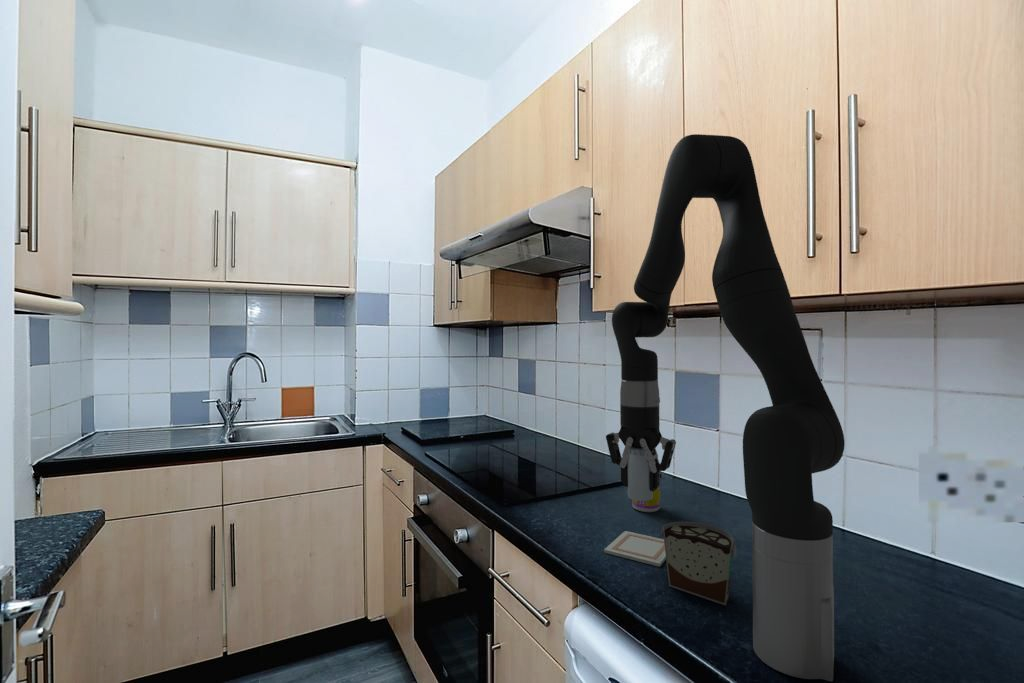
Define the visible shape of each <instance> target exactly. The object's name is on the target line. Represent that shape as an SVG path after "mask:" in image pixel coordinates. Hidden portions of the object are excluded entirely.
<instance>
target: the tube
mask: <svg viewBox="0 0 1024 683" xmlns="http://www.w3.org/2000/svg"><path fill="white" fill-rule="evenodd" d="M646 451H647V450H646ZM651 454H652V452H651ZM650 472H651V469H650V466H649V463H648V462H647V460H646V457H645V450H644V449H642V448H634V447H632V448H629V456H628V487H627V498H629V499H630V500H631V501H632V500H636V501H649V500H652V499H653V491H650Z"/></svg>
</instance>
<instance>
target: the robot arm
mask: <svg viewBox="0 0 1024 683" xmlns="http://www.w3.org/2000/svg"><path fill="white" fill-rule="evenodd" d="M698 198H699V199H712V200H714V202H715V204H716V205H717V208H718V209H717V210H718V212H719V215H720V219H721V223H722V238H721V242H720V245H719V248H718V250H717V254H716V257H715V259H714V264H713V267H712V274H711V282H712V287H713V291H714V296H715V298H716V301H717V305H718V309H719V312H720V315H721V318H722V321H723V323H724V325H725V327H726V328H727V330H728V331H729V332H730V334H731V336H732V337H733V338H734V340H735V341H736V342H737V343H738V344H739V345H740V347H741V348H742V350H743V351H744V352H745V353H746V354H747V355H748V356H749V358H750V359H751V360H752V361H753V363H754V364H755V365H756V366H757V369H758V370H759V372H760V374H761V375H762V378H763V379H764V383H765V385H766V388H767V391H768V393H769V394H768V395H769V396H770V401H771V403H772V405H771V406H765V407H761V408H760V409H757V410H755V411H754V412H753V413H752V414H750V416H749V417H748V419H747V420H746V423H745V425H744V429H743V435H742V458H743V459H742V460H743V474H744V476H743V477H744V478H743V479H744V489H745V490H744V491H745V496H746V499H747V503H748V505H749V508H750V509H751V523H752V524H751V525H752V526H751V530H752V531H751V532H752V534H751V535H752V536H751V537H752V538H751V540H752V543H751V544H752V546H751V547H752V549H751V551H752V552H751V554H752V563H751V564H752V646H753V647H752V648H753V651H754V653H755V655H756V656H757V657H758V658H759V659H760V660H761V662H763V663H764V664H766V665H767V666H768V667H770V668H771V669H773V670H775V671H777V672H780V673H782V674H784V675H787V676H790V677H794V678H798V679H803V680H824V681H828V682H833V681H834V669H835V668H834V666H835V664H834V663H835V594H834V593H835V591H834V590H835V586H834V568H833V567H834V557H833V556H834V554H833V552H834V550H833V549H834V546H833V545H834V544H833V540H834V539H833V538H834V537H833V535H834V534H833V531H834V521H833V515H832V511H831V510H830V509H829V508H828V507H827V506H825V505H824V504H822V503H821V502H818V501H815V499H814V497H815V496H814V490H813V474H816V473H820V472H825V471H828V470H830V469H833V467H835V466H836V465H838V463H839V462H840V461H841V460H842V458H843V456H844V451H845V444H846V443H845V434H844V431H843V427H842V425H841V421H840V419H839V416H838V414H837V412H836V409H835V408H834V406H833V404H832V402H831V399H830V398H829V396H828V393H827V391H826V389H825V387H824V385H823V382H822V381H821V379H820V376H819V373H818V372H817V370H816V366H815V365H814V363H813V359H812V357H811V354H810V351H809V348H808V346H807V342H806V339H805V336H804V332H803V331H802V328H801V325H800V322H799V320H798V316H797V314H796V311H795V307H794V305H793V300H792V298H791V297H792V296H791V294H790V290H789V287H788V284H787V281H786V279H785V274H784V272H783V269H782V267H781V265H780V261H779V259H778V256H777V255H776V254H777V253H776V250H775V248H774V244H773V241H772V238H771V234H770V230H769V228H768V224H767V221H766V217H765V213H764V210H763V206H762V202H761V196H760V192H759V186H758V182H757V176H756V172H755V167H754V163H753V160H752V156H751V153H750V151H749V148H748V146H747V145H746V144H745V143H744V141H743V140H741V139H739V138H737V137H735V136H730V135H719V134H718V135H716V134H702V133H701V134H695V133H694V134H689V135H685V136H684V137H682V138H681V139H680V140H679V141H678V142H677V143H676V145H675V146H674V147H673V149H672V151H671V154H670V156H669V159H668V161H667V164H666V169H665V172H664V175H663V179H662V185H661V189H660V194H659V199H658V202H657V208H656V212H655V217H654V222H653V227H652V233H651V236H650V241H649V244H648V247H647V250H646V252H645V256H644V258H643V259H642V262H641V265H640V268H639V269H638V270H639V271H638V273H637V275H636V278H635V281H634V285H633V291H634V294H635V295H636V296H637V297H638V298H639V299H640V300H641V301H622V302H619V303H618V304H617V305H616V306H615V308H614V309H613V312H612V315H611V326H612V331H613V334H614V336H615V340H616V343H617V347H618V351H619V356H620V361H621V362H620V365H621V367H620V369H621V371H620V372H621V373H620V374H621V375H620V376H621V382H620V390H619V393H620V394H619V395H620V396H619V397H620V399H619V400H620V401H619V403H620V404H619V406H620V407H619V408H620V409H619V410H620V413H619V414H620V418H619V419H620V429H619V431H618V432H616V433H615V432H610V433H608V434H606V435H605V440H606V443H607V448H608V451H609V456H610V460H611V463H612V464H613V465H614V464H615V465H617V466H619V467H620V482H621V484H623V487H625V488H628V456H629V448H632V447H634V448H642V449H644V450H645V457H646V460H647V462H648V463H649V466H650V469H651V472H650V491H653V492H654V491H655V490H656V489H657V488H658V487H659V485H660V486H661V472H665V471H666V470H667V469H669V468H670V466H671V463H672V459H673V455H674V451H675V448H676V444H677V441H676V440H675V439H673V438H672V439H670V438H669V439H668V438H666V437H663V435H662V434H661V431H660V403H661V398H660V388H659V380H658V379H659V377H658V376H659V370H658V369H659V367H658V366H659V365H658V364H659V362H658V355H657V352H655V351H653V350H651V349H647V348H646V349H645V348H641V347H640V345H639V344H638V342H637V339H636V338H655V337H658V336H661V334H662V333H663V332H664V331H665V330H666V328H667V326H668V319H669V310H670V304H671V299H672V298H671V297H672V293H673V292H674V290H675V287H676V285H677V283H678V281H679V278H680V276H681V274H682V271H683V269H684V267H685V261H686V250H685V243H684V238H683V231H682V230H683V228H682V223H683V220H684V219H683V218H684V216H685V213H686V211H687V209H688V207H689V205H690V203H691V202H692V200H693V199H698ZM620 440H621V442H622V444H623V445H624V449H623V453H622V454H621V450H620V446H619V442H620ZM659 444H661V448H662V450H663V453H662V457H661V462H660V460H659V454H658V451H657V449H656V448H657V447H658V445H659ZM646 450H647V451H646ZM651 452H652V454H651Z"/></svg>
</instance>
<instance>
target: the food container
mask: <svg viewBox="0 0 1024 683" xmlns="http://www.w3.org/2000/svg"><path fill="white" fill-rule="evenodd" d="M659 537H660V538H663V539H664V544H665V553H666V560H665V561H666V571H667V580H668V581H667V582H668V587H671V588H674V589H676V590H679V591H682V592H685V593H688V594H691V595H693V596H697V597H699V598H703V599H705V600H709V601H712V602H714V603H716V604H720V605H723V606H727V604H728V602H729V593H730V583H731V574H732V565H733V564H732V563H733V558H734V559H735V558H737V556H738V551H737V546H736V541H735V540H734V537H733V535H731V533H729V532H728V531H727V530H724V529H722V528H720V527H718V526H715V525H711V524H708V523H702V522H697V521H674V522H669V523H666V524H664V525H662V529H661V531H660V536H659Z"/></svg>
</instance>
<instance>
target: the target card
mask: <svg viewBox="0 0 1024 683" xmlns="http://www.w3.org/2000/svg"><path fill="white" fill-rule="evenodd" d="M603 553H604V554H609V555H611V556H616V557H620V558H624V559H628V560H631V561H635V562H639V563H644V564H647V565H651V566H656V567H658V568H659V567H661V566H662V565H663V563H664V562H665V561H666V553H665V544H664V538H661V537H660V538H659V537H654V536H650V535H646V534H641V533H636V532H634V531H633V532H632V531H627V530H624V531H623V532H621V534H620V535H619V536H617V537H616V539H614V540H613V541H612V542H611V543H610V544H608V545H607V547H605V548H604V549H603Z"/></svg>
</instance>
